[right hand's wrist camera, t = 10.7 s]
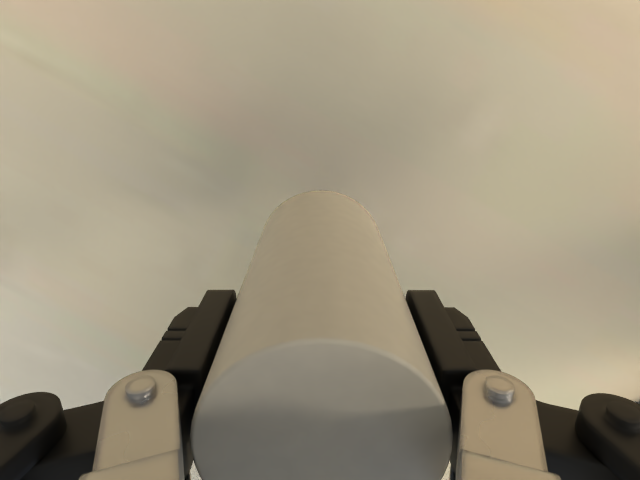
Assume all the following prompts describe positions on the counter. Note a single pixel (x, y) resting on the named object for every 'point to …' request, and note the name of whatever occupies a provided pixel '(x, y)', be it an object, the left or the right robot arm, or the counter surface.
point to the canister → (321, 361)
